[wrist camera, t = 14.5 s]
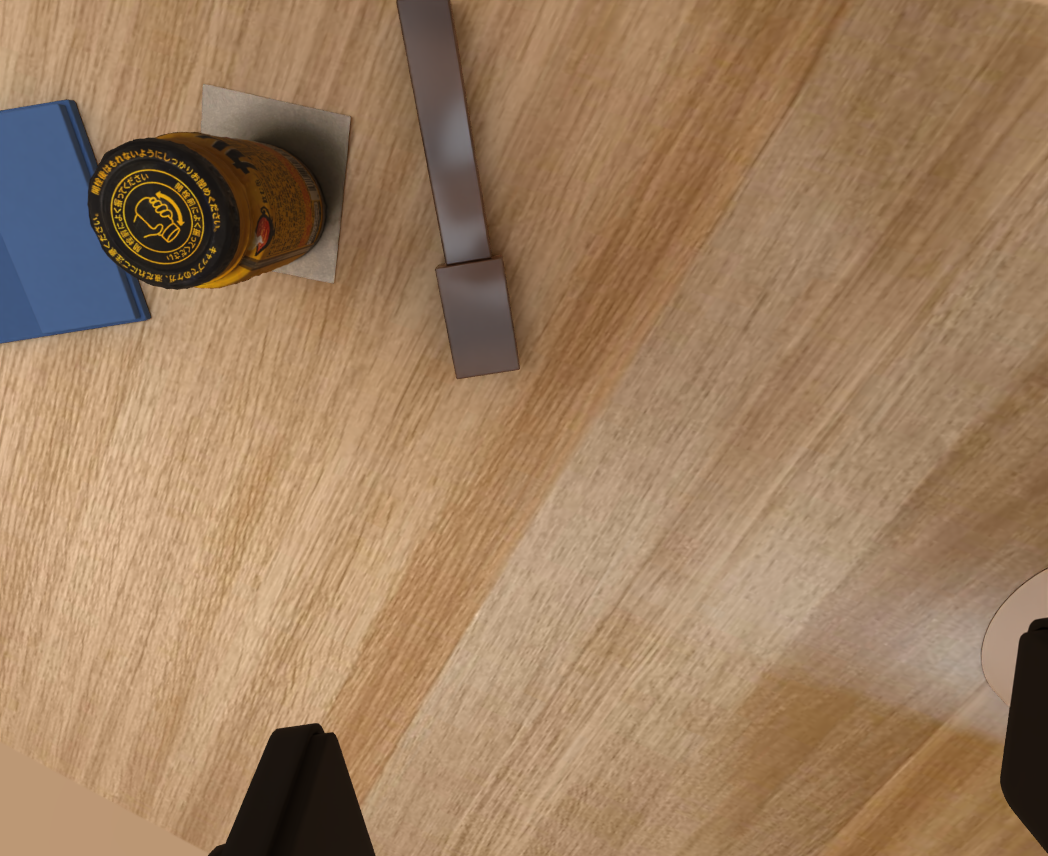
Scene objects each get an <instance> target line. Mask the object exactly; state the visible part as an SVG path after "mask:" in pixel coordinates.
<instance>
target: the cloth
mask: <svg viewBox="0 0 1048 856" xmlns="http://www.w3.org/2000/svg"><path fill="white" fill-rule="evenodd" d="M97 167H98V166H97V163H96V160H95V157H94V154H93V151H92V149H91V146H90V143H89V140H88V137H87V134H86V132H85V129H84V126H83V123H82V120H81V117H80V115H79V112H78V109H77V106H76V103H75V101H73V100H61V101H55V102H49V103H43V104H37V105H31V106H25V107H19V108H13V109H7V110H1V111H0V343H7V342H13V341H19V340H25V339H32V338H38V337H44V336H51V335H57V334H63V333H69V332H76V331H82V330H88V329H95V328H101V327H107V326H113V325H120V324H126V323H132V322H139V321H145V320H148V319H150V318H151V316H150V313H149V310H148V307H147V305H146V302H145V299H144V296H143V293H142V290H141V287H140V285H139V282H138V279H137V278H135V277H133V276H132V275H130V274H129V273H127V272H126V271H125V270H123V269H122V268H120V267H119V266H117V265H116V264H115V263H114V262H113V261H112V260H111V259H110V258H109V257H108V256H107V255H106V253H105V252H104V251H103V250H102V248H101V245H100V242H99V240H98V238H97V236H96V234H95V232H94V230H93V229H92V227H91V225H90V219H89V211H88V206H87V203H88V187H89V182H90V178H91V177H92V176H93V174H94V172H95V170H96V168H97Z"/></svg>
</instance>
